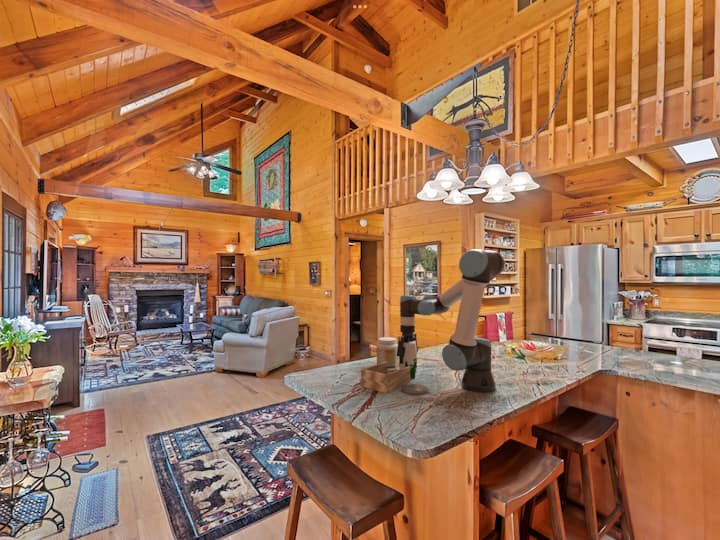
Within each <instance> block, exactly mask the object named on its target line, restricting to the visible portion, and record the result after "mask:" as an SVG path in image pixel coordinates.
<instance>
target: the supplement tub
mask: <svg viewBox="0 0 720 540" xmlns="http://www.w3.org/2000/svg"><path fill="white" fill-rule="evenodd" d="M377 342H378V343H377V344H376V365H377V364H380V363H383V362H387V372H394V371H397V370H399V357H398V356H397V349H398V340H397V338H396V337H389V336H386V337H385V336H384V337H378V340H377Z"/></svg>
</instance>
